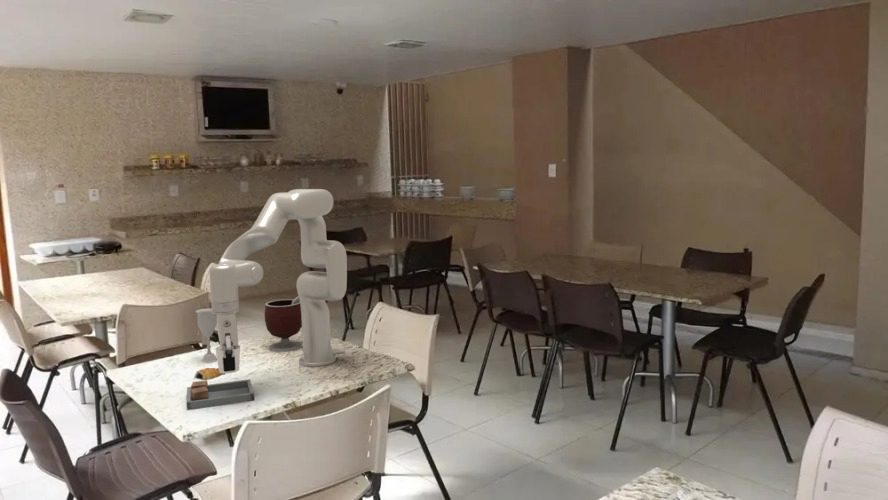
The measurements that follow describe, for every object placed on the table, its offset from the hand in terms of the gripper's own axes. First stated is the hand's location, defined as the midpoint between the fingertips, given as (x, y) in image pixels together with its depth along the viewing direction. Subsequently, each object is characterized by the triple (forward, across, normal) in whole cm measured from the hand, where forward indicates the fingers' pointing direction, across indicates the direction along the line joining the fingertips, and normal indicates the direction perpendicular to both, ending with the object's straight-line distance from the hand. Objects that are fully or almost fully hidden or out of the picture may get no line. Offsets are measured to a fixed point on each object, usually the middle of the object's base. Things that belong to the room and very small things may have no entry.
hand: (229, 367), depth 190 cm
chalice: (+10, +45, +5) cm, 46 cm away
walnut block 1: (+9, +3, +8) cm, 12 cm away
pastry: (+10, +23, +5) cm, 26 cm away
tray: (+10, 0, +3) cm, 10 cm away
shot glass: (+1, 0, 0) cm, 1 cm away
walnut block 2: (+9, -3, +8) cm, 12 cm away
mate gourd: (+10, +51, -23) cm, 57 cm away
